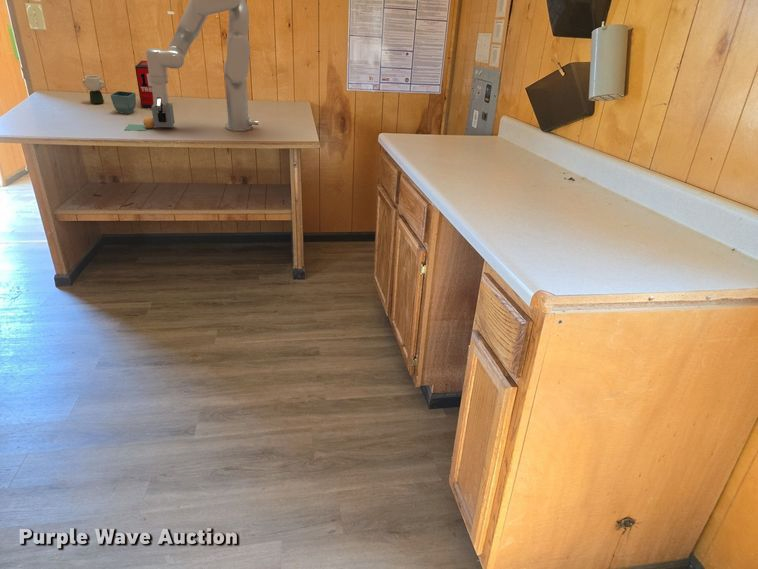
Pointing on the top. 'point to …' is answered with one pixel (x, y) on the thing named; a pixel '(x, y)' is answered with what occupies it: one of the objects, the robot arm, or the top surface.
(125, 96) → the flower pot
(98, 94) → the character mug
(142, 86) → the cleaning product box
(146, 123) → the ball
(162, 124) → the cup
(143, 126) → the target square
